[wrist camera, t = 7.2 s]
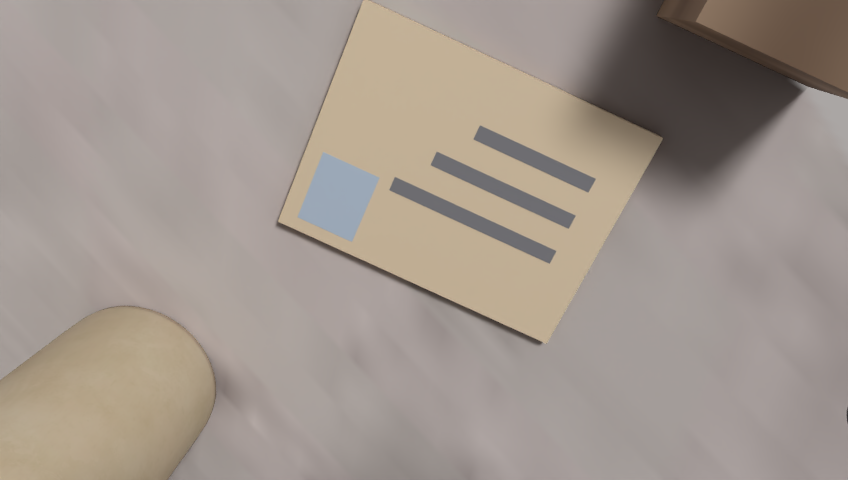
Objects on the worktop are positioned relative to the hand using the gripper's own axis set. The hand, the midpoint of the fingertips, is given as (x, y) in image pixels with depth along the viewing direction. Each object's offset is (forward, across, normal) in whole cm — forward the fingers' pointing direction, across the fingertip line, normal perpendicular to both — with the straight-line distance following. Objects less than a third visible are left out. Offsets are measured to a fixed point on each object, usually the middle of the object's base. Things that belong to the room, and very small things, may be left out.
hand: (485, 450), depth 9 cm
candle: (+13, +12, +8) cm, 19 cm away
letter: (+13, 0, +3) cm, 13 cm away
